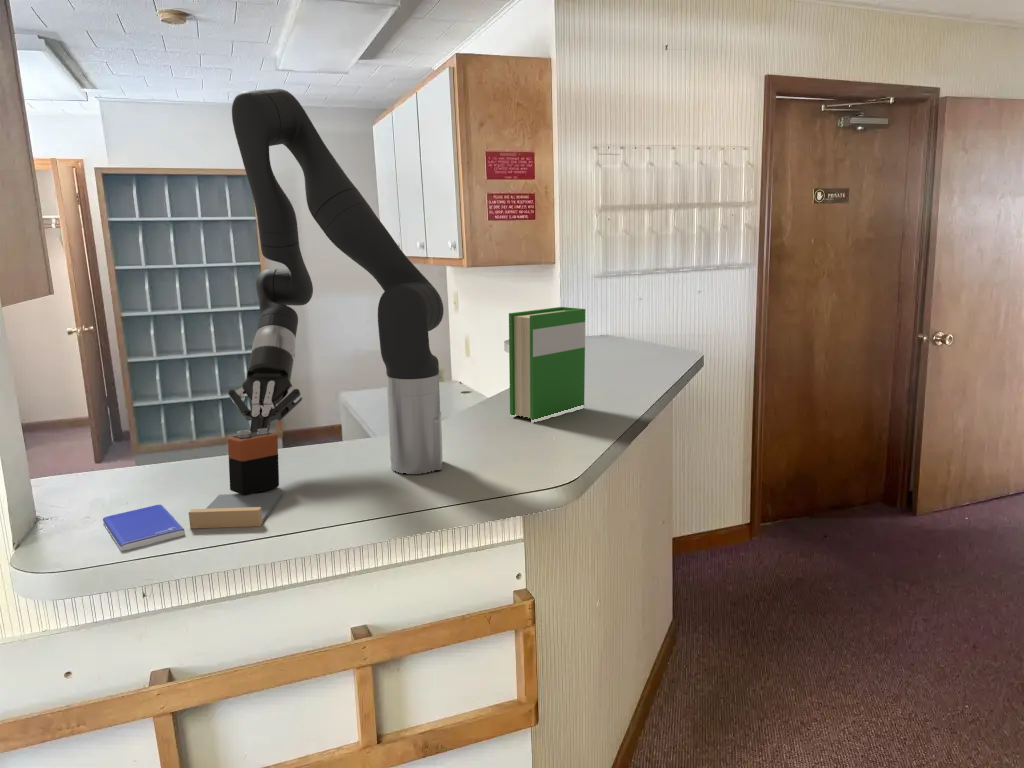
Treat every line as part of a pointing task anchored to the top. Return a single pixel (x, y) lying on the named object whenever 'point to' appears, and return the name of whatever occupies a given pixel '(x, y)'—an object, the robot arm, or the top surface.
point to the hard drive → (142, 527)
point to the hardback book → (546, 361)
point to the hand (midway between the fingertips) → (258, 439)
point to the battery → (253, 461)
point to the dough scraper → (234, 511)
